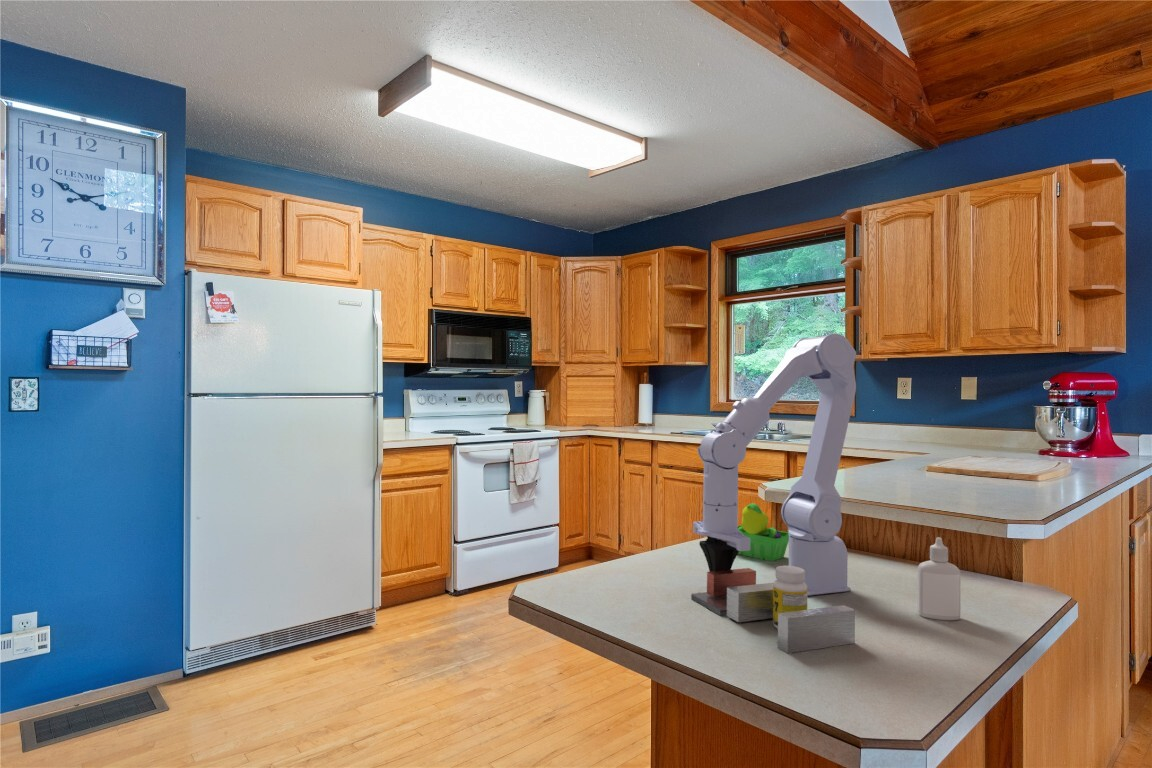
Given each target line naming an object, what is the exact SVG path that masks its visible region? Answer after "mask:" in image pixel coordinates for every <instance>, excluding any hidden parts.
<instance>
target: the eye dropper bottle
mask: <svg viewBox="0 0 1152 768" xmlns="http://www.w3.org/2000/svg"><path fill="white" fill-rule="evenodd" d="M943 543H944V542H943V539H942V537H939V536H938V537H936V538H935V543H934V544H931V545H930V546H929V559H930V560H925V561H923V562H920V563H919V564H918V566H917V595H916V596H917V612H918V613H919V615H920V616H922V618H926V619H930V620H931V619H932V620H940V621H959V620H960V619H961V570H960V569H959V567H957V566H956V564H953V563H951V562H948V561H949V547H947V546H945V545H944V544H943Z"/></svg>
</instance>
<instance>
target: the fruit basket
mask: <svg viewBox="0 0 1152 768" xmlns="http://www.w3.org/2000/svg"><path fill="white" fill-rule="evenodd" d="M768 524H769V517H768V515H767V514H766V513H765V512H764V511H763V510H762V509H761V507H760V506H759V505H758V504H757V503H752V502H751V503H749V504H747V505H746V506H745V507H744V508H743V509H742V517H741V525H738V530H739V531H740V532H741V533H742V534H743V535H745V536H746V537H748V538H750V539H751V540H750V551H739V553H738V554H737V555H740V554H741V555H742V556H745V557H750V558H755V559H760V560H765V561H769V562H774V561H778V560H780V559H781V558H784V557H785V555H786V551H787V547H788V545H789V532H788V531H781V530H777V529H775V528H774V527H773V526H770V527H768Z"/></svg>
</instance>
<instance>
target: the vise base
mask: <svg viewBox="0 0 1152 768" xmlns="http://www.w3.org/2000/svg"><path fill="white" fill-rule="evenodd" d="M690 596H691V597H690V598H691V600H693V601H694V602H696V603H698V604H699V605H701V606H703V607H704V608H706V609H708V610H710V611H711V612H714V613H715V614H716V615H719V616H720V617H721V616H727V596H720V597H712V596H711V595H709V594H707V591H705V592H695V593H691V595H690Z"/></svg>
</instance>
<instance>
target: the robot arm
mask: <svg viewBox="0 0 1152 768" xmlns="http://www.w3.org/2000/svg"><path fill="white" fill-rule="evenodd" d="M856 356H857V351H856V350H855V348H854V347H853V345H852V344H851V343H850V341H849V340H848V338H846V337H845V336H844V335H842V334H840V333H829V334H827V335H821V336H814V337H802V338H799V339H798V340H797V341H796V342H795V343H794V344H793V345H792V347H790V348H788V349H787V350H786V351H785V353H784V356H783V359H782V360H781V361H780V362H779V363H778V365H777V366H776V368H775V369H774V370H773V371H772V372H771V374H770V376H768V378H767V379H766V380H765V382H764V383H763V384H762V385H761V387H760V388H759V389H758V391H757V392H756V393H755V395H754V396H753V397H744V398H741V400H735V402H734V403H733V404H732V407H733V409H732V411H730V413H729V414H728V415H727V416H726V417H725V418H724V420H723V421H722V422H717V424H716V425H715V429H716V430H715V431H711V432H709V433H707V434H706V435H705V436H703V437H702V439H701V440H700V445H699V447H697V448H696V449H697V454H698V456H699V458H700V460H702V463H703V479H702V480H703V484H702V485H703V487H702V488H703V489H702V492H703V493H702V496H703V497H702V499H703V500H702V501H703V502H702V504H703V505H702V521H700V520H698V521H693V522H692V533H694V534H697V535H698V536H702V537H706V539H705V540H700V541H699V547H700V549H701V550H702V553H703V555H704V557H705V560H706V563H707V566H708V572H711V571H722V570H732V567H733V564H734V561H735V560H736V557H738V555H739V554H738V553H739V551H750V540H751V539H750V538H748V537H746V536H745V535H743V534H742V533H741V532H740V531H739V530H738V526H739V523H738V522H739V521H738V519H739V514H738V513H739V512H738V511H739V508H738V507H739V501H738V500H739V464H741V463H742V462H744V459H745V458H746V453H747V447H748V446H749V444H750V443H751V442H752V441H753V440H754V438H755V437H756V436H757V435H758V434H759V433H760V432H761V431H762V430H763V428H764V427H765V426H766V425H767V424H768V423H769V421H770V409H771V408H773V407H774V405H775V404H776V403H777V402H778V401H779V400H781V398H782V397H784V396H785V394H786V393H787V392H788V391H789V390H790V389H791V388H792V387H793V386H794V385H795V384H796V383H797V382H798V381H799V380H800V379H801V378H806V377H807V378H808V379H809V380H810V381H812V382H813V383H814V385H815V386H816V388H817V389H818V390H819V391H820V392H819V393H820V397H819V401H818V406H817V409H816V413H815V418H814V423H813V426H812V427H813V428H812V431H811V436H810V439H809V445H808V450H807V453H806V457H805V461H804V466H803V470H802V475H801V477H800V478H799V479H798V480H797V481H796V482H795V483H794V484H793V485H792V486H791V487H790V492H789V494H788V496H787V498H786V499H785V500H784V501H783V503H782V506H781V511H780V515H781V519H782V521H783V523H784V524H785V525H786V526H787V532H788V533H789V541H788V566H794V567H799V568H802V569H804V570H805V581H803V582H804V583H805V584H806V585H807V590H808V596H815V595H817V596H818V595H824V594H825V595H826V594H834V593H841V592H842V593H843V592H850V591H851V590H852V587H850V586H848V560H849V558H848V550H847V547H846V545H845V542H844V541H843V539H841V538H840V537H839V536H837V535H838V533H839V532H840V530H841V527H842V525H843V518H842V517H843V516H842V512H841V511H842V510H841V506H842V500H843V499H842V497H841V495H840V493H839V492H838V490H837V489H836V488H837V487H835V483H836V478H837V475H838V470H839V466H840V461H841V457H842V453H843V449H844V443H845V439H846V436H847V430H848V427H849V422H850V418H851V413H852V409H853V405H854V400H855V396H856V391H857V383H856V382H857V381H856V375H855V369H854V368H855V367H854V365H855V360H856Z"/></svg>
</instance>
